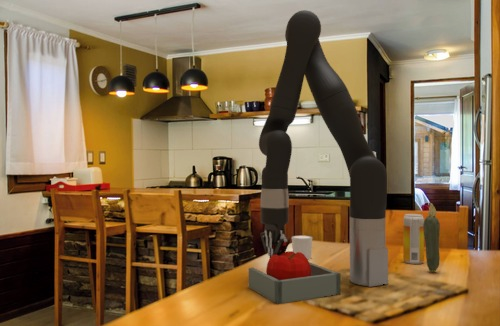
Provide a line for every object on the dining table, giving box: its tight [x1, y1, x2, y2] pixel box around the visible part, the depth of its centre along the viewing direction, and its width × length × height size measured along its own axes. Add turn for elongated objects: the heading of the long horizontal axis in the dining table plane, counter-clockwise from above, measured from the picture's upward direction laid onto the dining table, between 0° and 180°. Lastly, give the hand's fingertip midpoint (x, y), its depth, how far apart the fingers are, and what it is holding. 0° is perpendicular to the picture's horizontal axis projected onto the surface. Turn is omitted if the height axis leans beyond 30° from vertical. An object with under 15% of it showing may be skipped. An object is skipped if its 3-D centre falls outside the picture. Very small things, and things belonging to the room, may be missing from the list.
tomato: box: [265, 250, 311, 280], centre depth 119 cm, size 11×12×9 cm
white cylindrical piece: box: [291, 234, 313, 260], centre depth 156 cm, size 7×7×7 cm
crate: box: [248, 262, 341, 305], centre depth 118 cm, size 15×17×5 cm
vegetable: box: [423, 202, 441, 273], centre depth 136 cm, size 4×4×20 cm
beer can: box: [402, 213, 425, 265], centre depth 149 cm, size 6×6×15 cm
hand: (274, 270), depth 126 cm, fingers closed
